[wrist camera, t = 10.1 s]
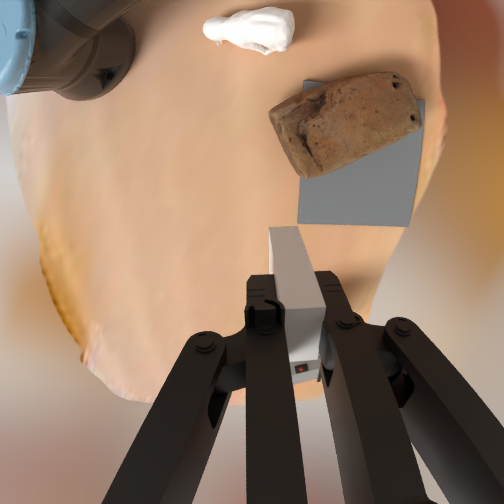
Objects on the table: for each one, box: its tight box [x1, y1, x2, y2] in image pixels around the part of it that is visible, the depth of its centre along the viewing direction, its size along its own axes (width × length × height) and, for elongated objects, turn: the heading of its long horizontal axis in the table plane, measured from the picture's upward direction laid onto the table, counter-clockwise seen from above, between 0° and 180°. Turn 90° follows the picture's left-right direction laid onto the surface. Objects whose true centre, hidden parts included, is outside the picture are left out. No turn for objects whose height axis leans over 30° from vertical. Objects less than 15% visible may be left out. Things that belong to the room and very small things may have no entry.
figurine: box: [290, 353, 321, 384], centre depth 49 cm, size 9×12×15 cm
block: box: [269, 72, 422, 178], centre depth 34 cm, size 11×8×20 cm
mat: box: [297, 81, 425, 227], centre depth 41 cm, size 22×20×1 cm
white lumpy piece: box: [203, 7, 295, 55], centre depth 29 cm, size 6×8×12 cm
